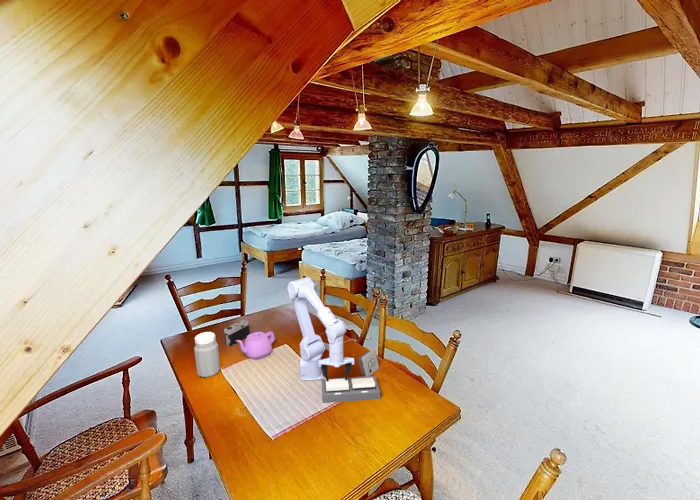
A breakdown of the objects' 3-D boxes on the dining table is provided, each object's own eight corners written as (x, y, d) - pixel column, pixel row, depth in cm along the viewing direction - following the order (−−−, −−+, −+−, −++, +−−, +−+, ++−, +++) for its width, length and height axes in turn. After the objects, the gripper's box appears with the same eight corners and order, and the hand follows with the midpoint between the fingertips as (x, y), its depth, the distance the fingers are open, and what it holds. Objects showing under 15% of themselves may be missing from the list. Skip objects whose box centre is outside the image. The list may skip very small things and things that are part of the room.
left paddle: (326, 391, 135) (326, 387, 134) (325, 383, 140) (325, 379, 140) (348, 389, 135) (348, 386, 135) (347, 381, 141) (347, 378, 141)
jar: (224, 372, 153) (220, 335, 148) (203, 381, 146) (198, 344, 142) (214, 363, 159) (210, 328, 155) (193, 372, 152) (188, 336, 148)
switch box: (322, 402, 132) (322, 396, 132) (321, 385, 143) (321, 379, 142) (380, 398, 135) (380, 392, 134) (375, 382, 145) (375, 375, 145)
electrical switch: (367, 378, 148) (366, 358, 146) (358, 375, 151) (356, 355, 150) (379, 369, 155) (378, 350, 154) (370, 366, 158) (369, 347, 157)
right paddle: (352, 388, 136) (352, 384, 136) (351, 382, 141) (351, 378, 141) (375, 386, 136) (375, 382, 136) (372, 381, 142) (372, 377, 142)
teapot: (231, 355, 166) (230, 334, 164) (268, 342, 179) (267, 322, 177) (243, 367, 157) (241, 345, 154) (281, 351, 170) (280, 331, 167)
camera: (241, 332, 190) (240, 316, 187) (251, 337, 185) (251, 320, 182) (219, 342, 179) (218, 325, 176) (229, 348, 174) (228, 330, 171)
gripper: (318, 356, 132) (319, 387, 135) (355, 354, 134) (355, 384, 137) (318, 347, 139) (318, 376, 142) (353, 345, 140) (353, 374, 144)
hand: (336, 379), depth 140 cm, fingers open, 7 cm apart
